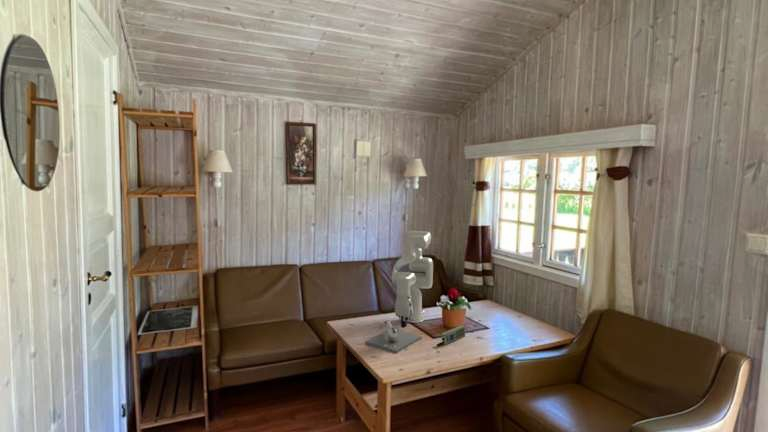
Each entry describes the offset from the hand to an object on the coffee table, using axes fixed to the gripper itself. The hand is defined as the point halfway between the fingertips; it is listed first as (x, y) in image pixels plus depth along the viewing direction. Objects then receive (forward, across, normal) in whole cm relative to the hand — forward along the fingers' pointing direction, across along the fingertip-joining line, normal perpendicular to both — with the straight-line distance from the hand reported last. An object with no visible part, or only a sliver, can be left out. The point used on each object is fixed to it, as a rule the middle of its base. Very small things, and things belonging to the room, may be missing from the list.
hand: (403, 326), depth 251 cm
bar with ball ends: (+6, +6, +5) cm, 10 cm away
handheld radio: (+9, -23, -15) cm, 29 cm away
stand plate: (+8, +4, +5) cm, 10 cm away
